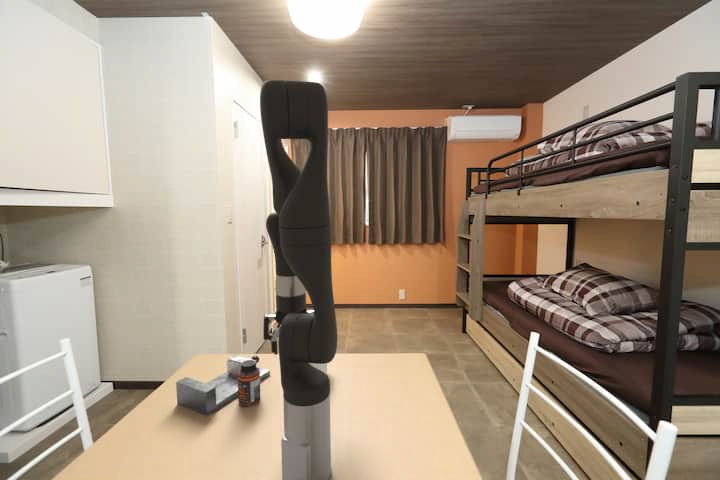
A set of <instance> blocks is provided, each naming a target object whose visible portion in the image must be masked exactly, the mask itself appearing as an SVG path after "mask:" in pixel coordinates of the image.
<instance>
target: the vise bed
mask: <svg viewBox="0 0 720 480" xmlns="http://www.w3.org/2000/svg"><path fill="white" fill-rule="evenodd" d="M256 367H257V368H259V370H260V382H261V381H263V380H264V379H266V378H267V377H268V376H270V375H271V371H270V369H266V368H264V367H262V368H261V367H258V366H256ZM175 384H176V385H175V386H176V403H177V405H178V406H181V407H183V408H185V409H189V410H190V411H193V412H196V413H199V414H201V415H204V416H206V417H207V416H209V415H211V414H212V413H214V412H215V411H217V410H218V409H220V408H222V407H223V406H225V405H226V404H228V403H229V402H231V401H232V400H234V399H235V398H238V376H235V375H232V374H229V373H228V372H227V371H226V372H225V373H224V372H223V373H222V374H220V375H219V376H218V375H217V377H215V378H212V379H210V380H209V381H208V382H202V381H200V380H196V379H193V378H190V377H187V376H185V377H183V378H181V379H179V380H177V381H175Z"/></svg>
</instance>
